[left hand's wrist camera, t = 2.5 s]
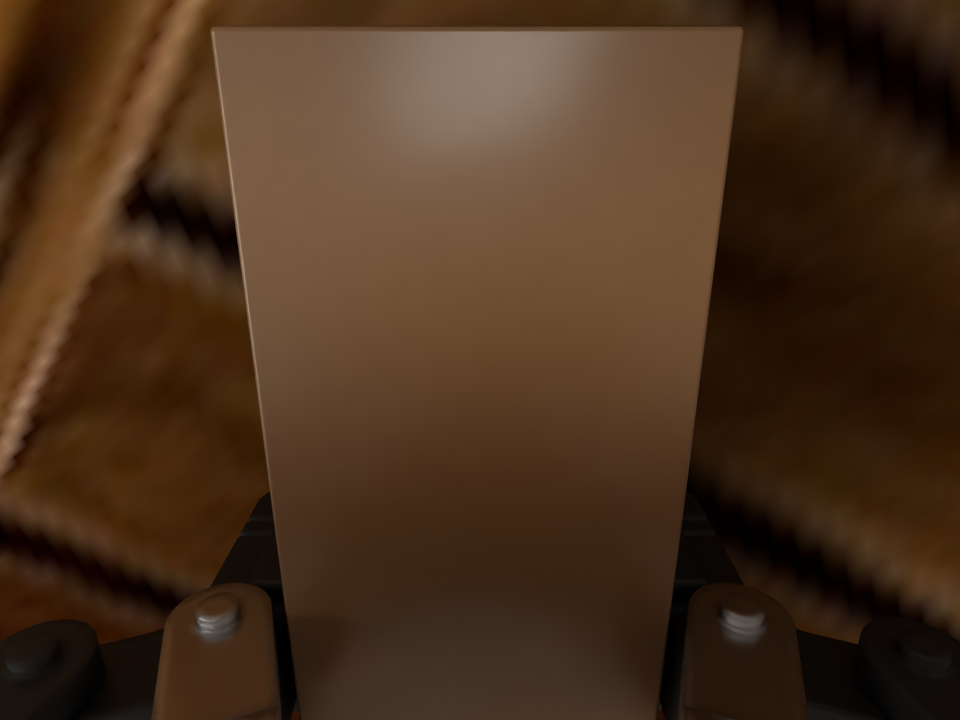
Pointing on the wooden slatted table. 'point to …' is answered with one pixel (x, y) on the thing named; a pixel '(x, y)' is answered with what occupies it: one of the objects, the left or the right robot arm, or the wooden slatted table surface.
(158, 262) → the wooden slatted table surface
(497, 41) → the post
